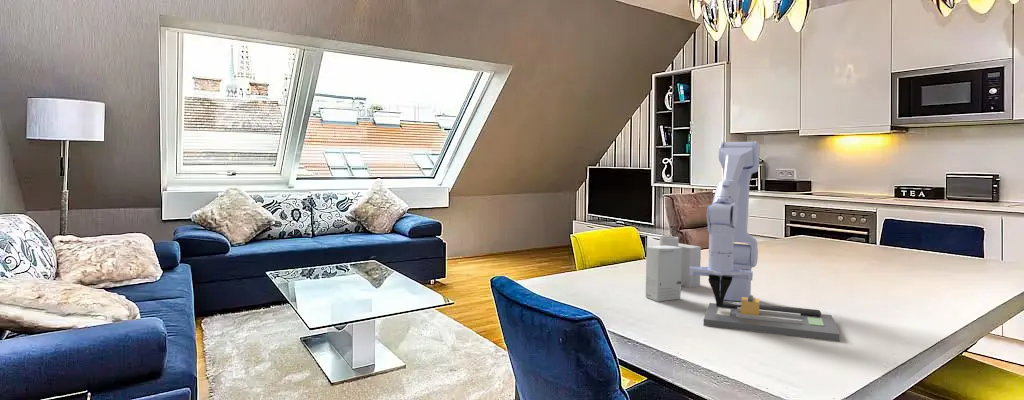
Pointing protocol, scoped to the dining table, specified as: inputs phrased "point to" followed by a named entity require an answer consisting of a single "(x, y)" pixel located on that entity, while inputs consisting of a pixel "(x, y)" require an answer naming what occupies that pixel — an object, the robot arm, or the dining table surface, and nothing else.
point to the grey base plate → (773, 320)
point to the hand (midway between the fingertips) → (719, 306)
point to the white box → (685, 260)
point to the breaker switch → (750, 305)
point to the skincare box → (663, 273)
